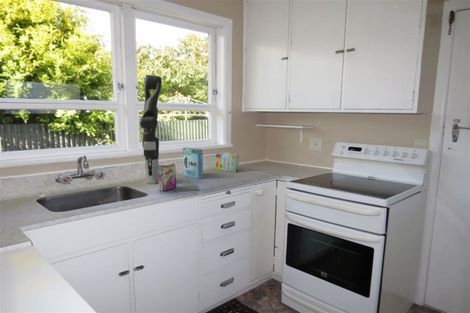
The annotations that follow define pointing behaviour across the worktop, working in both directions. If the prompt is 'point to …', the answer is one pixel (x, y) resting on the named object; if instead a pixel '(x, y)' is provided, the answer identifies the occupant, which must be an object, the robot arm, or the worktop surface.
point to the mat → (186, 188)
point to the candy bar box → (166, 176)
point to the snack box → (227, 162)
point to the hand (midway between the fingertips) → (150, 175)
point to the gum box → (193, 162)
